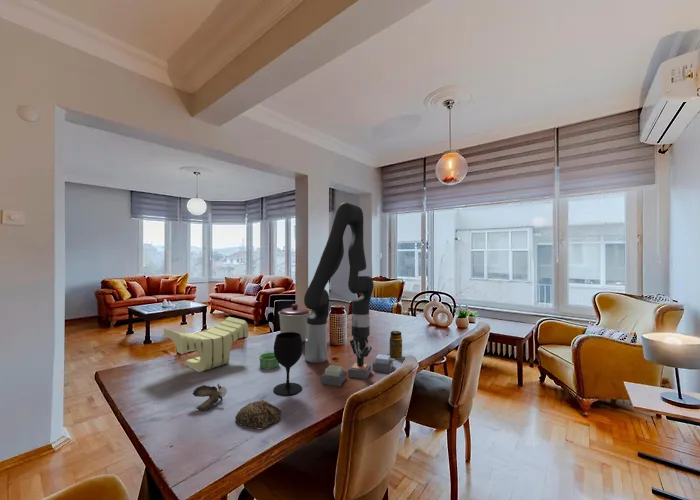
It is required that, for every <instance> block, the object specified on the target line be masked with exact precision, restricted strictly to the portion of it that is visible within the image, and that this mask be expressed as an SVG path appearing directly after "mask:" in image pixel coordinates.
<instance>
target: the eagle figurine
mask: <svg viewBox="0 0 700 500" xmlns="http://www.w3.org/2000/svg"><path fill="white" fill-rule="evenodd" d="M226 394H227V388H226V387H225V386H222V385H220V384H219V383H217V386H214V385H213V386H210V385H206V384H202V385H200V386H198V387H196V388H195V389H194V390H193V392H192V395H193V396H194V397H198V398H199V397H200V398H201V397H202V398H203V397H204V398H205V397H208V398H207V399H206V400H205V401H204V402H202V403H201V404H200V405H197V406H196V409H198V410H199V411H198V412H204V411H206V410H208V409H209V408H210V407H212V406H213V405H214V404H217V403H218V402H219V399H220V401H223V400H224V397H225V396H226ZM196 409H195V410H196ZM200 410H201V411H200Z"/></svg>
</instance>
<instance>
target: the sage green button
mask: <svg viewBox="0 0 700 500" xmlns="http://www.w3.org/2000/svg"><path fill="white" fill-rule="evenodd" d="M343 370H344V369H343V366H340V365H333V364H329V365H328V366H327V367H326V368H325V369H324V372H325V375H327V376H334V377H339V376H340V375H341V374H342V373H343Z"/></svg>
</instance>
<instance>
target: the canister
mask: <svg viewBox="0 0 700 500" xmlns="http://www.w3.org/2000/svg"><path fill="white" fill-rule="evenodd" d="M311 312H312V310H310V309H308V308H303V307H299V305H298V304H297V303H292V304H291V307H287V308H282V309H281V310H280V311H278V312H277V313H278V316H279V327H280V333H284V332H296V333H299V334H300V335H301V339H302V343H305V340H306V339H307V318H308V316H309V315H310V314H311Z"/></svg>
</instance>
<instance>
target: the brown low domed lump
mask: <svg viewBox="0 0 700 500" xmlns="http://www.w3.org/2000/svg"><path fill="white" fill-rule="evenodd" d="M281 414H282V409H280V408H278V407H277V406H275V404H274V405H273V404H272V403H270V402H269V401H267V400H264V399H261V400H257V401H254V402H249V403H247V404H246V405H245V406H242V408H240V410H239V411H238V412H237V414H236V415H235V419H234V420H235V422H236V423H237V424H238V425H240V424H241V426H243V427H245V426H246V427H245V428H248V427H249V428H251V427H252V428H251V429H256V428H263V429H264V427H265V428H267V427H268V426H269V425H271V424H277V423H279V422H280V421H281V420H282V419H281Z"/></svg>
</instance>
